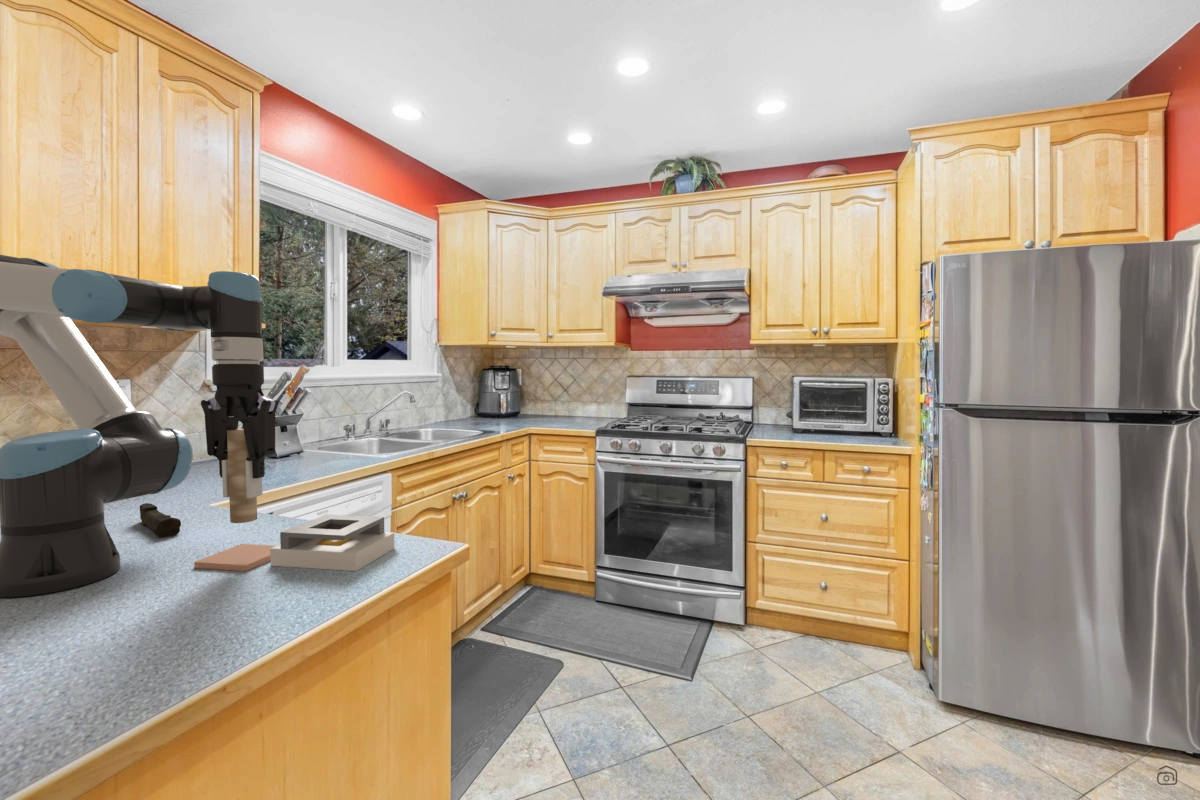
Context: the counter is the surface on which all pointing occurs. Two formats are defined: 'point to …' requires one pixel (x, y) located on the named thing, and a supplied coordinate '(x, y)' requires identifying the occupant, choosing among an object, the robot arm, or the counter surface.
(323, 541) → the button
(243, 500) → the wooden cylinder
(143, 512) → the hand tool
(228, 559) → the rest tile
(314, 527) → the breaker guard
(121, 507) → the counter surface
